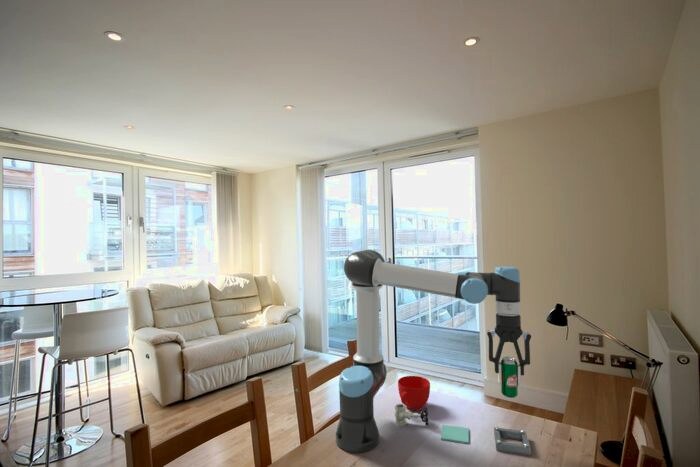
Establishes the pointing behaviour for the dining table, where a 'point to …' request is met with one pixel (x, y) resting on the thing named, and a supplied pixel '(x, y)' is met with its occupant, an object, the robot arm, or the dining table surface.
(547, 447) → the dining table surface
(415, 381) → the ceramic cup
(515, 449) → the frame
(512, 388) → the soda can
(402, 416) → the valve
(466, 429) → the pad
